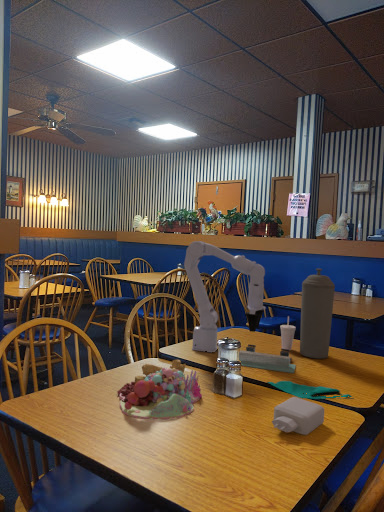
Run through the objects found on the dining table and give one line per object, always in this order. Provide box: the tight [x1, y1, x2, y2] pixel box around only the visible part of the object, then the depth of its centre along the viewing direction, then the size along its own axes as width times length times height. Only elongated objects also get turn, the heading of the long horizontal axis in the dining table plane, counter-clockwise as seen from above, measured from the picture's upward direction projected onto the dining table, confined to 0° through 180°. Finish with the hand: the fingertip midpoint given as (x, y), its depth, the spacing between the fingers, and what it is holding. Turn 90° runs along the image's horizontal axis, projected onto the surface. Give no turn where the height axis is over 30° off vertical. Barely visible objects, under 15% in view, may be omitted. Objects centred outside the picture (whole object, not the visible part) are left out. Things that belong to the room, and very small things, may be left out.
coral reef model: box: [116, 359, 203, 420], centre depth 112 cm, size 25×24×9 cm
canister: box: [299, 268, 336, 360], centre depth 162 cm, size 13×13×35 cm
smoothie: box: [279, 315, 297, 352], centre depth 170 cm, size 6×6×14 cm
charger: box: [271, 396, 325, 436], centre depth 99 cm, size 5×9×15 cm
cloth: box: [266, 380, 353, 400], centre depth 124 cm, size 26×14×2 cm, turn 56°
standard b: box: [279, 348, 293, 364], centre depth 155 cm, size 5×6×4 cm
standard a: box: [245, 344, 257, 352], centre depth 159 cm, size 5×6×4 cm
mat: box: [241, 362, 296, 374], centre depth 147 cm, size 22×9×1 cm, turn 72°
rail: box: [238, 349, 291, 369], centre depth 147 cm, size 18×3×4 cm, turn 72°
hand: (254, 329), depth 160 cm, fingers open, 7 cm apart
